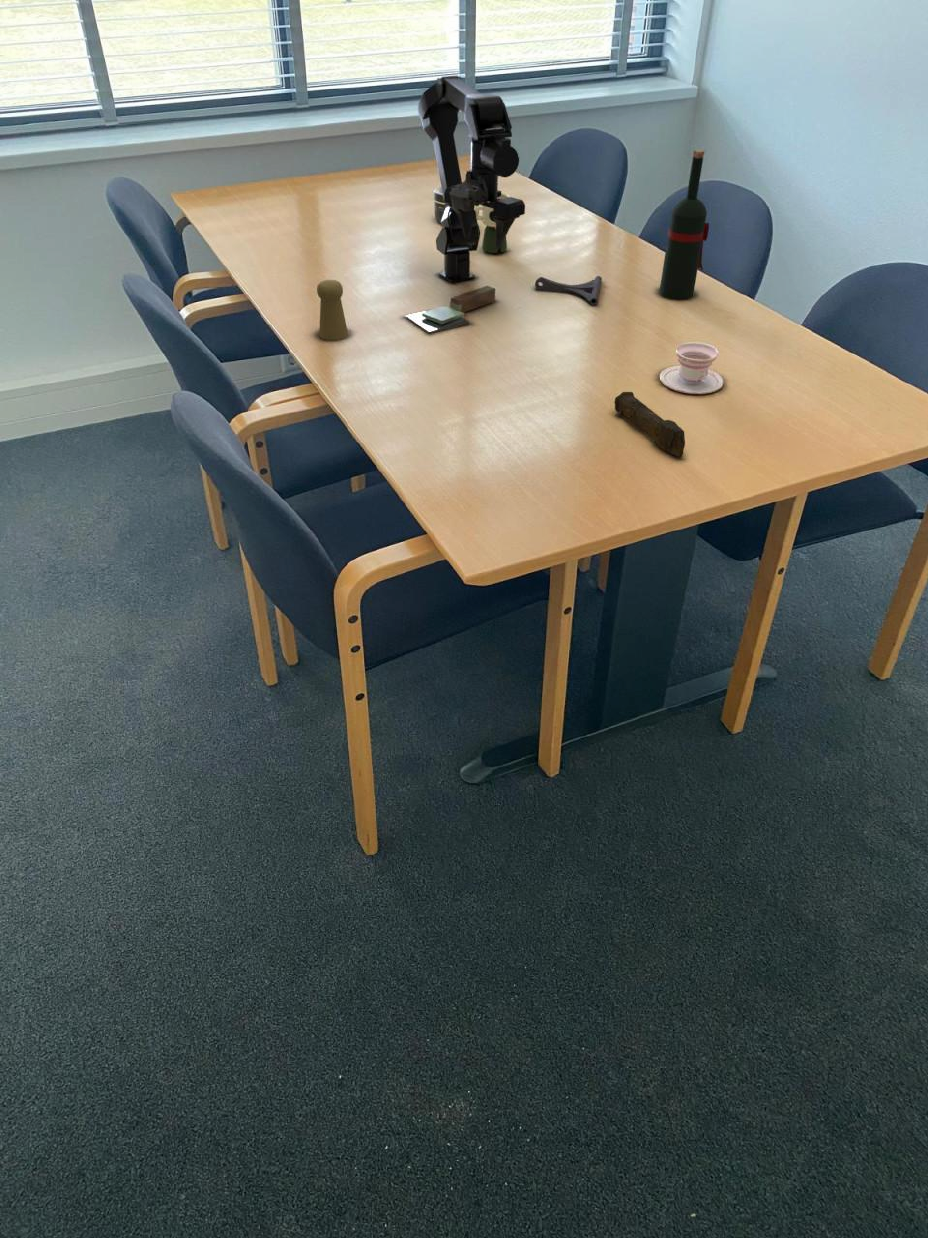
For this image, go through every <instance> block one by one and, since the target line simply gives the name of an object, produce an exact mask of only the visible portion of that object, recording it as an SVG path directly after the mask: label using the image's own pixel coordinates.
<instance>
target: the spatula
mask: <svg viewBox="0 0 928 1238" xmlns="http://www.w3.org/2000/svg"><path fill="white" fill-rule="evenodd" d="M495 300H496V288H495V287H492V286H489V285H486V286H482V287H479V288H476V289H473V290H470V291H466V292H464V293H461V294H457V295H455V296H452V297H450V302H449V306H446V305H442V306H439V307H435V308H432V309H430V311H429V310H426V311H427V312H425V311H423V312H424V313H422V317H424V318H427V319H429V320H432V321H434V322H437V323H439V324H445V323H448V322H450V321H453V320H456V319H459V318H464V317H465V313H466V312H469V311H473V310H475V309H477V308H482V307H484V306H487V305H489V304H493V303H495Z"/></svg>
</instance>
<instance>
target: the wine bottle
mask: <svg viewBox="0 0 928 1238" xmlns="http://www.w3.org/2000/svg"><path fill="white" fill-rule="evenodd" d="M692 154H693V156H692V160H691V165H690V166H691V167H690V174H689V179H688V186H687V193H686V197H685V198H682V199H681V200H679V201H678V202H676V204H674V206H673V208H672V211H671V214H670V222H669V228H668V233H667V240H666V247H665V253H664V260H663V265H662V272H661V278H660V279H661V280H660V285H659V291H658V294H659V295H660V296H661V297H663V298H666V299H668V300H674V301H686V300H689V299H692V298H693V297H694V293H695V288H696V287H695V286H696V281H697V275H698V270H699V269H701V271H702V272H704V269H703V263H702V261H703V259H702V258H703V249H704V242H706V241H707V239H708V236H709V230H710V223H709V222H707V221H706V220H707V214H708V211H707V207H706V205H705V204H704V202H702V201H701V200H700V199H698V192H699V187H700V180H701V176H702V175H701V174H702V168H703V163H704V155H705V150H702V149H694V150H693V153H692Z"/></svg>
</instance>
